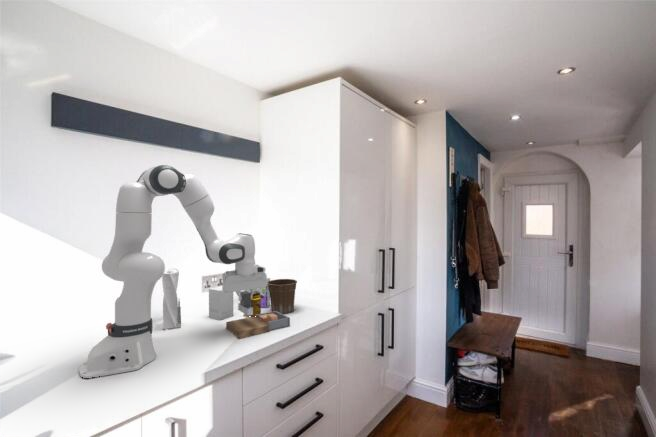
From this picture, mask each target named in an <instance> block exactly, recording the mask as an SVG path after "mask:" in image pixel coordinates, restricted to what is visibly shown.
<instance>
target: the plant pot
mask: <svg viewBox="0 0 656 437" xmlns="http://www.w3.org/2000/svg"><path fill="white" fill-rule="evenodd" d="M297 283H298V280H297V279H293V278H278V279H272V280H271V279H270V281H268V282H267V284H268V288H269V292H270V309H271V311H270V312H273V311H277V312H279V313H281V314H283V315H285V314H289V313H292V312H294V309H295V297H296V288H297Z"/></svg>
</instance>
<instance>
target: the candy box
mask: <svg viewBox="0 0 656 437" xmlns="http://www.w3.org/2000/svg"><path fill="white" fill-rule="evenodd" d="M268 281H271V277H267V282H268ZM243 291H248V292H251V291H250V290H243ZM255 292H260V297H261V309H262V308H263V309H267V308H269V307H271V301H270V292H269V288H268V284H267V286H266V287H263V288H256V289H255Z"/></svg>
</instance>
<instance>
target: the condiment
mask: <svg viewBox="0 0 656 437" xmlns="http://www.w3.org/2000/svg"><path fill="white" fill-rule="evenodd" d="M251 307H252V308H253V315H249V316H251V317H254V316H256V315H257V314H262V308H261V297H260V292H254V293H253V295H252V299H251ZM245 316H246V317H245ZM249 316H247V315H246V314H244V313H243V317H245V318H249Z"/></svg>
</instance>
